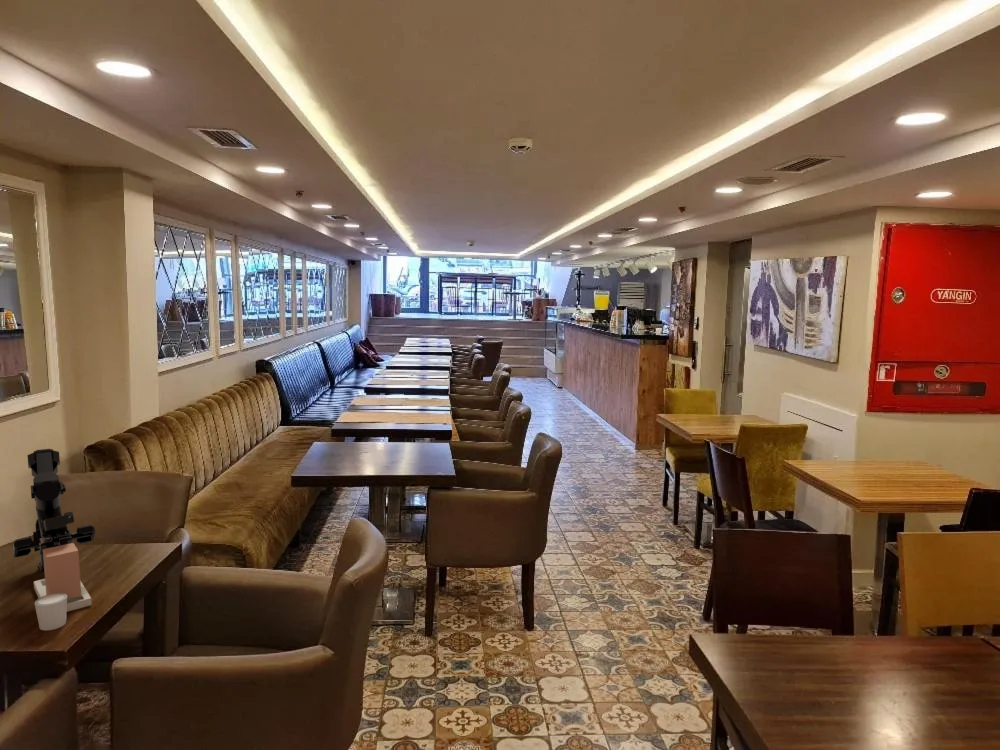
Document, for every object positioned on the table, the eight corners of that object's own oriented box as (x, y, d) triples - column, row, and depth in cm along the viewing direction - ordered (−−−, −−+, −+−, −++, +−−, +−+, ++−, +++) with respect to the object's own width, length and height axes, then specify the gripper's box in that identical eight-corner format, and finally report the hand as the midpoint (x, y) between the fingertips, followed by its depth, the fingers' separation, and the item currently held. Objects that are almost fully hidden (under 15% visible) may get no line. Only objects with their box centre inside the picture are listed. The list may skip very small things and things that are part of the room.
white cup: (56, 632, 160) (54, 605, 159) (29, 631, 160) (27, 604, 160) (75, 618, 167) (73, 592, 166) (49, 617, 167) (47, 592, 166)
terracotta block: (46, 595, 175) (42, 549, 174) (76, 587, 180) (73, 542, 178) (50, 604, 170) (46, 557, 168) (81, 596, 175) (78, 550, 173)
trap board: (34, 588, 183) (33, 581, 183) (75, 578, 190) (74, 571, 190) (47, 617, 167) (46, 609, 167) (91, 604, 174) (91, 597, 174)
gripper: (10, 511, 173) (19, 563, 166) (91, 497, 185) (102, 545, 179) (9, 531, 179) (18, 582, 173) (87, 516, 192) (98, 563, 185)
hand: (60, 567), depth 177 cm, fingers closed
